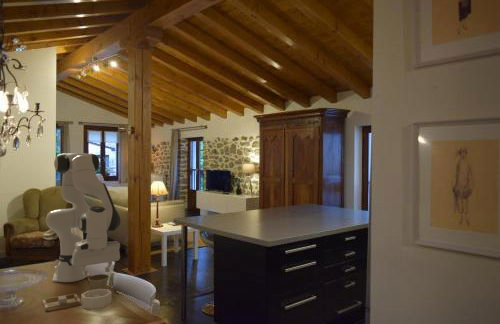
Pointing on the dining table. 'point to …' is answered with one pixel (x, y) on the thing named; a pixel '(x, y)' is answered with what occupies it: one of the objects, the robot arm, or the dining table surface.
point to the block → (62, 299)
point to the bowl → (96, 298)
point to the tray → (53, 304)
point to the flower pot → (98, 281)
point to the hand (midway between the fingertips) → (96, 273)
